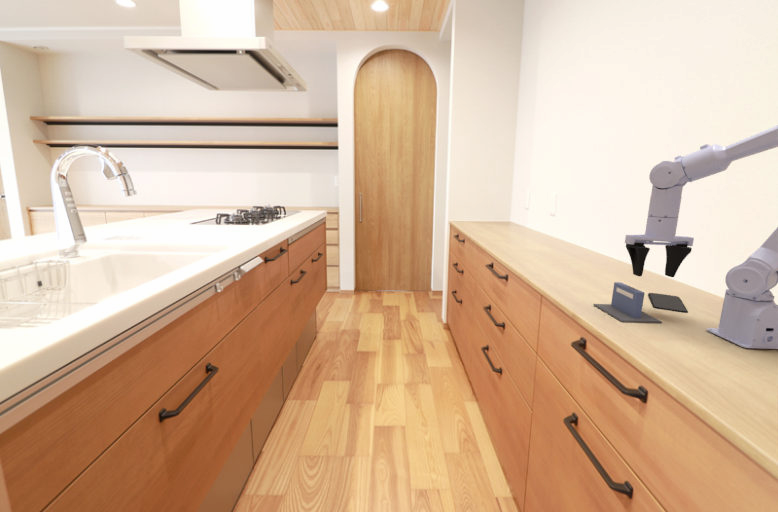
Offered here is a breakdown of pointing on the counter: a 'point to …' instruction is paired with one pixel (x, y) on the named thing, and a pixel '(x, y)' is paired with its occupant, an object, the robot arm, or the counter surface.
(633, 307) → the block
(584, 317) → the counter surface
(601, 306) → the mat
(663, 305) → the smartphone
